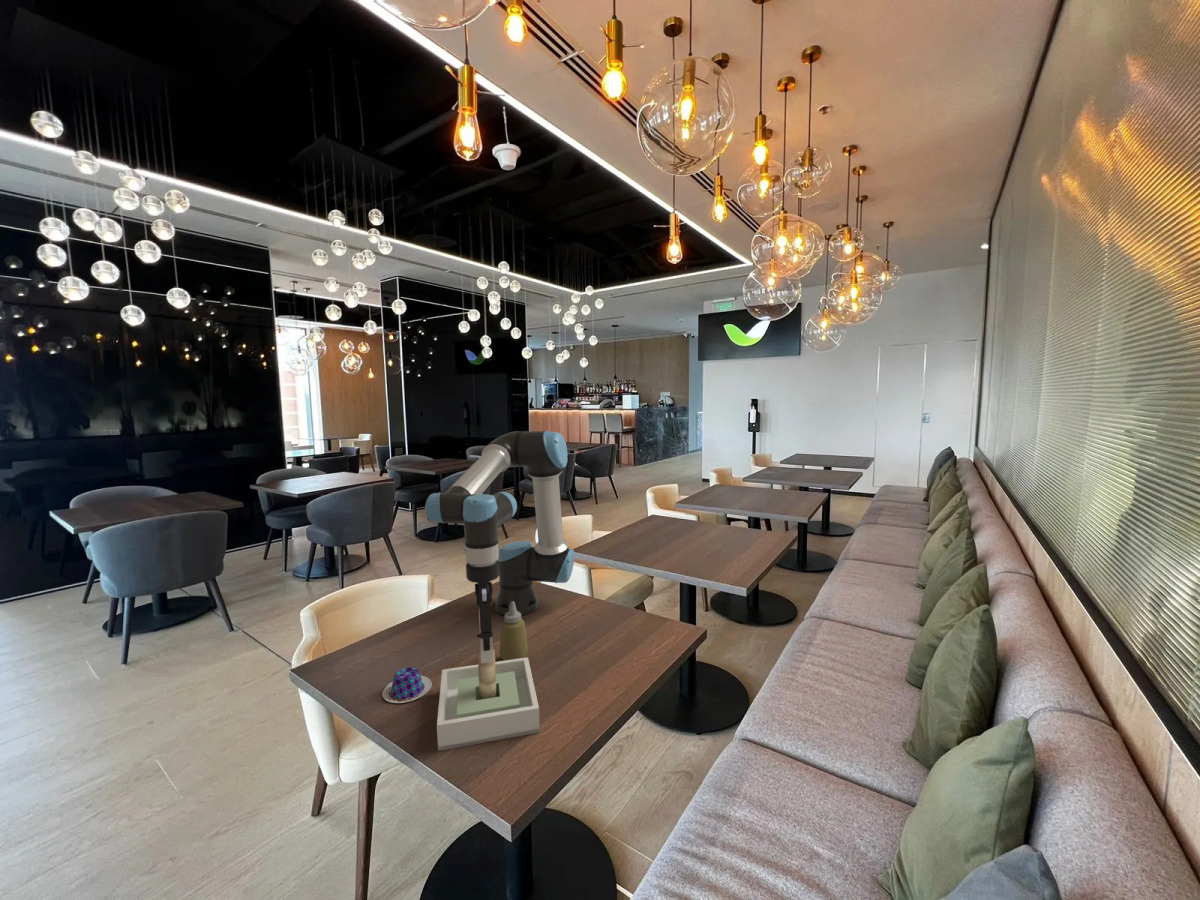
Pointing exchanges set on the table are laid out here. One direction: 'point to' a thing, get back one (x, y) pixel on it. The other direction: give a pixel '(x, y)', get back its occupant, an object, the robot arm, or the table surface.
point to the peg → (487, 678)
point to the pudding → (407, 685)
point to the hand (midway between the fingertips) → (486, 646)
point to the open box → (489, 724)
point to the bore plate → (503, 701)
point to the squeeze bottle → (513, 635)
